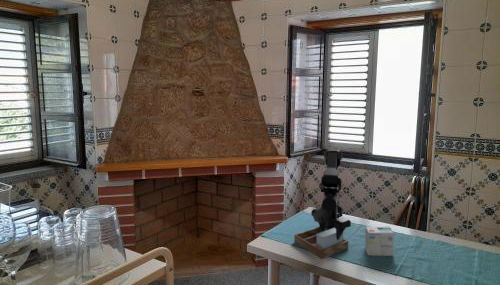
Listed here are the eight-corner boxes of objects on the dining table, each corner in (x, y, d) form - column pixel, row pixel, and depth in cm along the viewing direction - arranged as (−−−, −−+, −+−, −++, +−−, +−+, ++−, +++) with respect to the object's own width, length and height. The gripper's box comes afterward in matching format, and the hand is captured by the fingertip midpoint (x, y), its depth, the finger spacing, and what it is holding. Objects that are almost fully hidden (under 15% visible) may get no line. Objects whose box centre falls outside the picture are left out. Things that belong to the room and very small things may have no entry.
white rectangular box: (336, 243, 162) (336, 226, 161) (343, 246, 159) (343, 230, 157) (316, 250, 156) (316, 233, 155) (322, 254, 153) (323, 237, 151)
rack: (319, 233, 175) (319, 225, 174) (348, 248, 159) (348, 239, 158) (294, 242, 167) (294, 233, 166) (321, 259, 151) (321, 249, 150)
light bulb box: (389, 248, 158) (390, 225, 156) (393, 256, 151) (394, 232, 149) (364, 248, 159) (364, 225, 157) (367, 255, 152) (368, 232, 150)
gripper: (301, 199, 157) (302, 232, 160) (332, 213, 141) (331, 249, 144) (320, 194, 163) (320, 226, 166) (352, 207, 147) (351, 242, 150)
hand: (330, 235), depth 156 cm, fingers open, 9 cm apart
